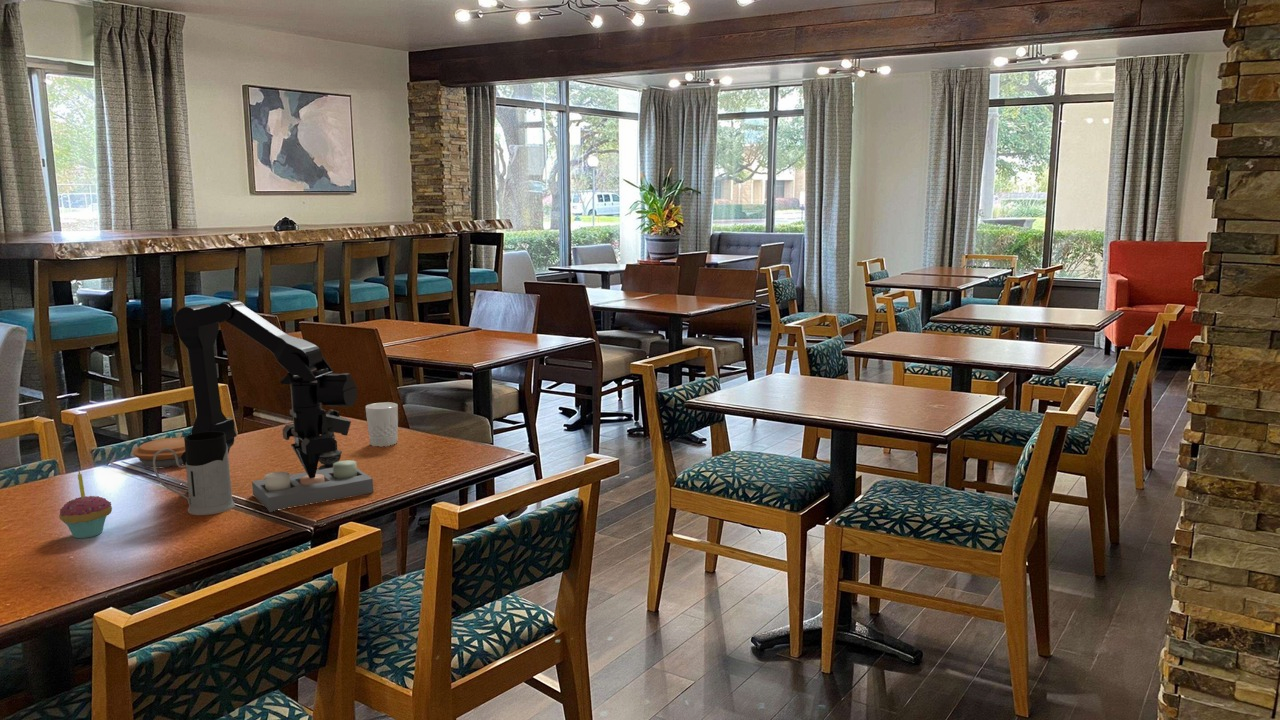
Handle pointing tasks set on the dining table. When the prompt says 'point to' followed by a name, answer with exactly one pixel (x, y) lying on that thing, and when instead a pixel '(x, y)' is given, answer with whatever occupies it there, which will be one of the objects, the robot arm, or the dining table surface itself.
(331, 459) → the grey chess piece
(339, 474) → the sage button
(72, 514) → the cupcake
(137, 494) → the dining table surface
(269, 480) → the cream button
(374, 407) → the white cup
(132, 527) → the dining table surface
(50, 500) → the dining table surface
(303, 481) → the terracotta button
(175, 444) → the pie
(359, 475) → the console
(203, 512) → the grey handled cylinder
